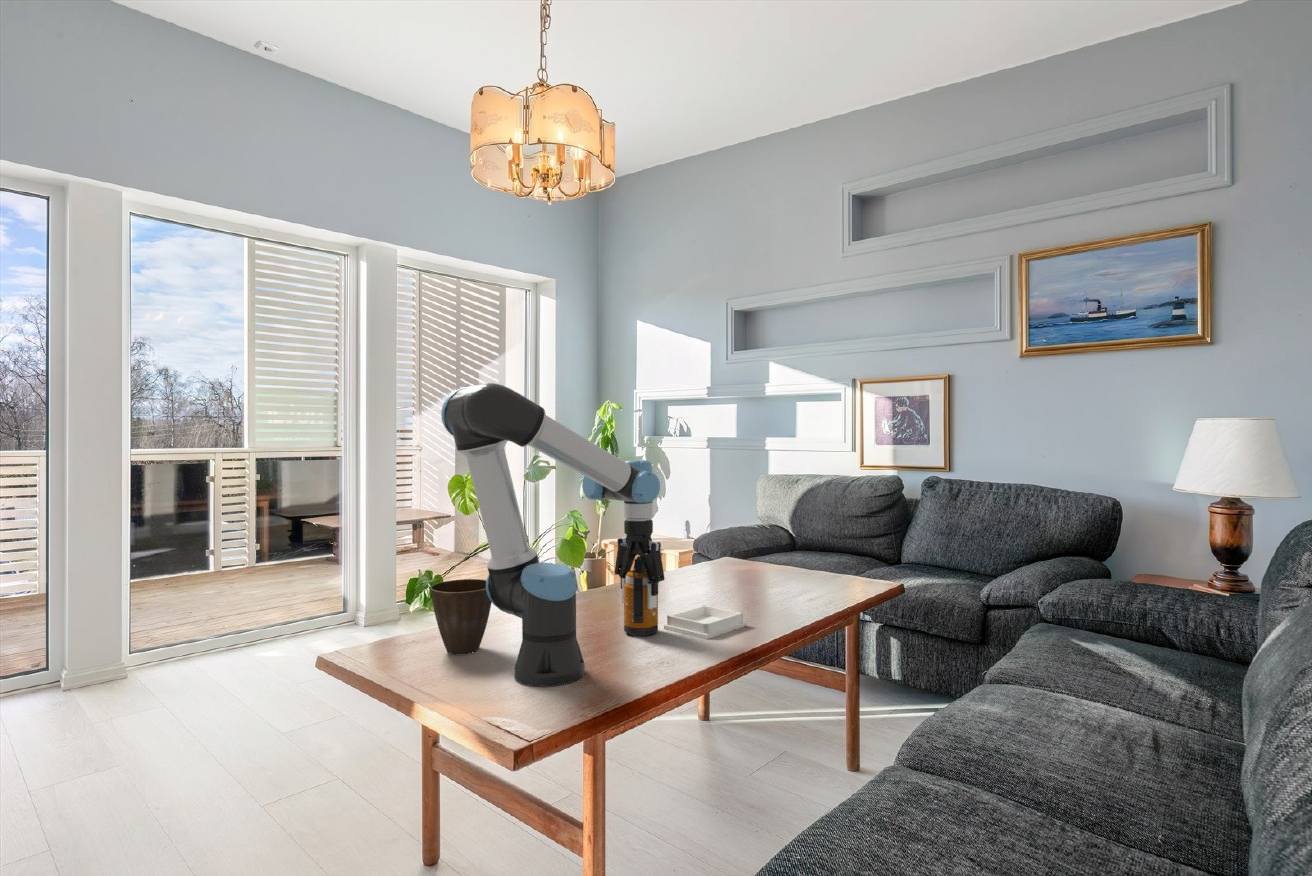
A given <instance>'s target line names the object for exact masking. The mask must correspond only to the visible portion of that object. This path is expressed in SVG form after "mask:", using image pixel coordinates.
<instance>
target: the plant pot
mask: <svg viewBox="0 0 1312 876" xmlns="http://www.w3.org/2000/svg"><path fill="white" fill-rule="evenodd" d="M486 580H487V579H478V578H477V579H475V578H467V579H466V578H464V579H463V578H462V579H453V580H452V579H451V580H445V581H441V582H437V583H434V584H433V585H431V586H430V592H431V593H430V594H431V600H432V606H433V611H434V617H435V619H436V623H437V628H438V631H439V633H440V636H441V640H442V642H443V646H444V647H445V651H446V652H447V653H448V654H449V653H450V654H449V655H453V654H455V655H454V656H462V655H461V654H466V655H470V654H469V653H471V654H473V653H472V652H474V653H475V652H477V650H479V649H480V646H481V644H482V642H483V641H482V640H483V637H484V635H485V633H486V632H485V631H486V628H487V625H488V621H489V616H490V612H491V608H492V604H493V603H492V602H491V601H490V599H489V597H488V595H487V592H486ZM456 654H458V655H456ZM459 654H460V655H459Z"/></svg>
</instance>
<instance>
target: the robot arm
mask: <svg viewBox="0 0 1312 876" xmlns="http://www.w3.org/2000/svg"><path fill="white" fill-rule="evenodd" d="M440 412H441V413H440V414H441V415H440V416H441V417H440V418H441V423H442V425H443V426H444V428H445V430H446V431H447V432H448V433H449V435H451V436H453V440H454V443H455V447H456V452H458V453H459V454H461V455H463V456H465V458H466V460H467V461H466V462H467V465H468V469H469V473H470V477H471V480H472V485H473V488H474V492H475V496H476V499H477V504H478V508H479V512H480V516H481V519H482V524H483V528H484V532H485V535H486V539H487V543H488V547H489V552H490V555H491V556H490V559H489V561H488V562H487V564H486V565H487V571H488V576H487V577H486V579H485V580H486V592H487V595H488V597H489V599H490V601H491V602H492V603H491V604H493V606H495V607H496V608H497V609H499V610H500V611H501V612H503V613H506V614H509V615H513V616H515V617H518V618H519V619H521V624H522V625H521V626H522V627H521V630H522V633H521V635H522V636H521V637H522V638H521V639H522V640H521V645H520V647H519V650H518V651H519V652H518V655H517V658H516V662H515V664H514V679H515V681H517V682H519V684H522V685H526V686H531V687H532V686H533V687H553V686H561V685H566V684H570V683H573V682H576V681H578V680H580V679H581V678H583V677H584V675H585V673H586V672H585V671H586V666H585V665H586V664H585V660H584V658H583V654H582V651H581V648H580V645H579V643H578V639H577V589H578V587H577V583H576V582H577V581H576V574H575V572H574V571H573V569H571V567H569V566H566V565H563V564H560V563H553V562H540V560H539V557H538V553H537V551H536V549H533V548H532V547H530V546H529V544H528V543H529V542H528V540H527V536H526V535H527V534H526V531H525V527H524V523H523V519H522V515H521V512H520V508H519V507H520V506H519V503H518V499H517V494H516V491H515V487H514V483H513V478H512V474H511V470H510V467H509V463H508V459H507V458H508V457H507V455H506V451H505V447H506V445H507V444H508V441H509V442H512V443H513V444H515V445H518V446H519V447H521V448H524V447H527V446H529V447H531V448H533V449H535V450H537V451H538V452H540V453H542V454H544V455H546V456H548V457H549V458H551V459H553V460H554V461H557V462H559V463H560V464H562V465H564V466H566V467H567V468H569V469H571V470H573V471H575V472H577V473H578V474H581V476H583V477H582V482H581V483H582V491H583V493H584V495H585V497H586V498H587V499H589V500H591V501H593V500H596V501H600V500H613V501H621V502H622V501H623V506H624V507H623V516H624V518H625V519H624V520H623V521H624V523H623V525H624V526H623V530H624V531H623V532H624V534H625V535H626V537H620V538H617V540H616V542H617V552H616V559H615V564H614V565H615V566H614V574H615V575H618V576H619V578H620V589H621V603H622V604H624V584H625V583H626V575H627V573H628V572H629V571H632V568H633V566H634V562H635V559H636V557H637V556H640V558H641V559H642V560H643V563H644V566H645V569H646V572H647V575H648V578H649V581H650V582H648V583H647V607H648V609H652V608H655V607H657V595H658V596H659V584H660V582H662V581H665V579H666V578H665V573H664V567H663V561H662V555H661V549H662V548H661V547H662V542H660V541H657V542H656V541H653V539H652V534H653V532H654V520H653V519H651V518H653V507H654V505H653V504H654V503H653V502H654V500H656V499H657V498H658V496H659V494H660V490H661V482H660V479H659V477H658V476H657V475H656V474H655V473H654V472H653V465H652V462H651V461H650V460H647V459H646V460H645V459H636V460H635V459H634V460H633V459H631V460H625V461H624V460H623V459H621V458H619V457H617V456H616V455H614V454H613V453H611V452H609V451H607V450H605V449H604V448H602V447H600V446H599V445H597V444H596V443H594V442H592V441H591V440H589V439H587V438H585V437H583V435H580V434H578V433H577V432H575V431H573V430H572V429H570V428H569V427H566V426H565V425H563V424H562V423H560V422H558V421H556V420H555V419H553V418H552V417H550V416H548V415H547V414H546V409H545V408H544V407H542V406H540V405H539V404H538V403H536V402H534V401H532V400H531V399H529V398H527V397H525V396H524V395H523V394H521V393H519V392H517V391H515V390H514V389H511V388H510V387H507V386H505V385H503V384H499V383H494V382H489V383H482V384H477V385H468V386H467V385H466V386H464V387H460V388H459V389H456V390H454V391H451V393H450V394H449V395H448V396H447V398H446V399H445V401H444V402H443V404H442V406H441V411H440ZM653 577H654V578H653Z"/></svg>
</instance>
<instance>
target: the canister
mask: <svg viewBox="0 0 1312 876" xmlns="http://www.w3.org/2000/svg"><path fill="white" fill-rule="evenodd" d="M632 569H633V570H632ZM632 569H631V570H630V571H629V572H628V573H627V575H626V583H625V584H624V603H623V631H624V632H625V633H627V634H629V635H631V636H635V635H636V637H647V636H650V634H651V635H652V634H654V633H657V632H659V625H658V624H659V594H658V595H657V607H655V608H652V609H648V607H647V583H648V582H650V581H649V578H648V575H647V572H646V569H645V566H644V563H643V560H642V559H641V558H640V556H639V555H637V556H636V558H635V559H634V562H633V568H632ZM653 578H654V577H653Z"/></svg>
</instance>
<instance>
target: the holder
mask: <svg viewBox="0 0 1312 876" xmlns="http://www.w3.org/2000/svg"><path fill="white" fill-rule="evenodd" d="M666 618H667V623H666V624H663V629H664V630H667V629H668V630H669V631H671V630H672V631H671V632H675V633H679V634H684V635H687V634H688V635H687V636H691V637H696V638H701V639H704V638H705V639H704V640H709V639H712V638H715V637H718V636H721V635H724V634H726V633H731V632H732V630H733V631H735V630H734V629H736V630H739V629H741V627H742V628H744V626H745V627H747V625H748V624H747V623H748V622H747V621H744V612H740V611H736V610H730V609H727V608H726V609H724V608H720V607H714V606H709V605H705V604H704V605H700V606H696V607H693V608H690V609H687V610H683V611H678V612H676V613H671V614H669V615H667V617H666ZM668 630H667V631H668ZM720 634H721V635H720Z"/></svg>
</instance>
